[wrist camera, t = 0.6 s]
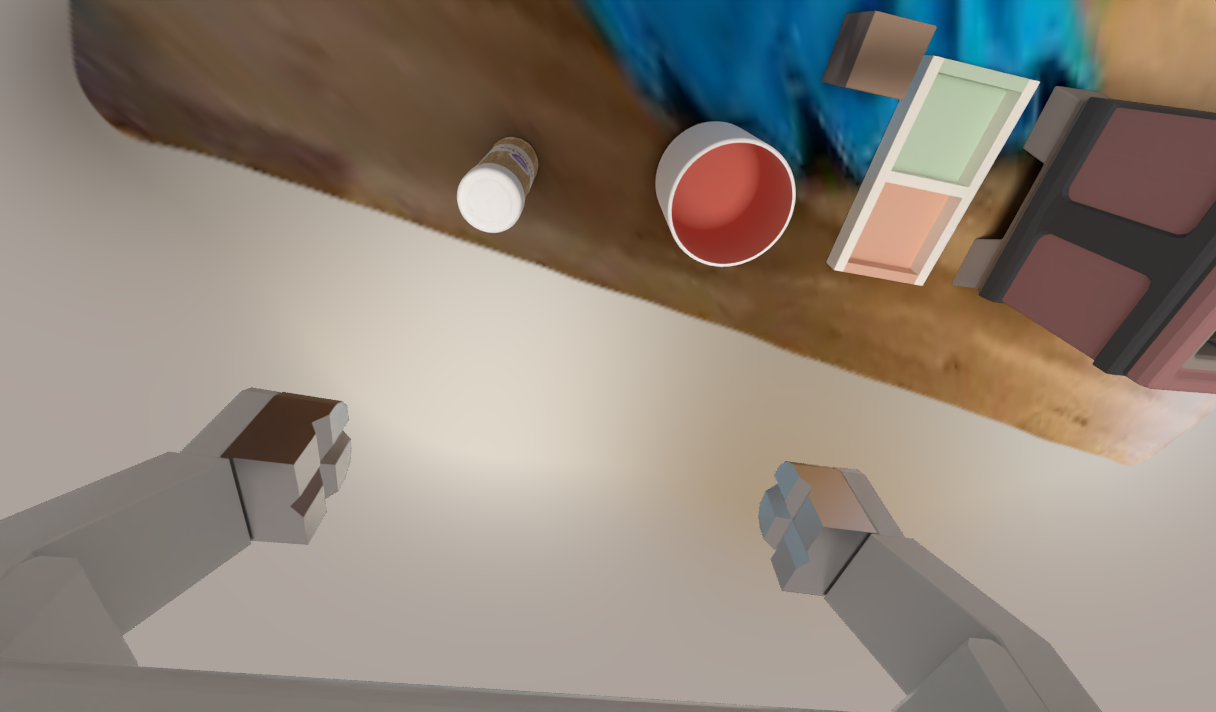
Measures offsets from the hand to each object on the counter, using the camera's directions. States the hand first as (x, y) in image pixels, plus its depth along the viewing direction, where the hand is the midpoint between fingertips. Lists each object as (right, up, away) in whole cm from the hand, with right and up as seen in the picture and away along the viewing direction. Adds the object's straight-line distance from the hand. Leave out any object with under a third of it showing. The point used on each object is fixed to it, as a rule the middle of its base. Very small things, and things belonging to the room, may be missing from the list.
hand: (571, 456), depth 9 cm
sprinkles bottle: (-8, +20, +37) cm, 42 cm away
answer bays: (+30, +19, +38) cm, 52 cm away
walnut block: (+22, +28, +33) cm, 48 cm away
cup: (+10, +19, +38) cm, 44 cm away
